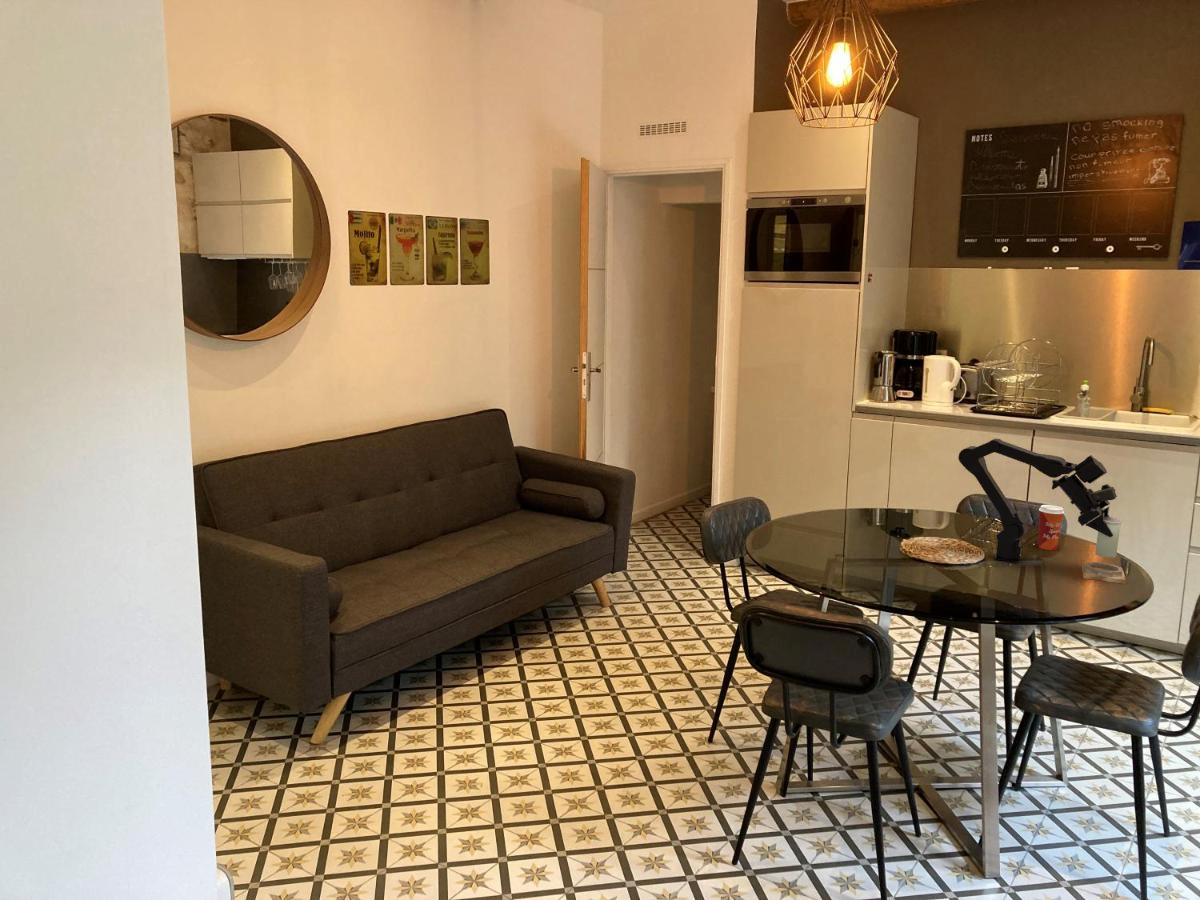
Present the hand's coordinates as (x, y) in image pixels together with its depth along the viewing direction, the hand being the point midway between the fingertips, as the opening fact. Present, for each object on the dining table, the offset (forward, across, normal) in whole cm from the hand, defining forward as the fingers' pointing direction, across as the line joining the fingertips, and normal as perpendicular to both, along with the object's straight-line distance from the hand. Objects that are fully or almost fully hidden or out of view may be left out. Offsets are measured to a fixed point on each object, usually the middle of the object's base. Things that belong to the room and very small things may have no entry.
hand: (1113, 534), depth 280 cm
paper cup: (-5, +22, +25) cm, 33 cm away
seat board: (+8, +1, +10) cm, 13 cm away
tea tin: (+4, 0, +6) cm, 7 cm away
